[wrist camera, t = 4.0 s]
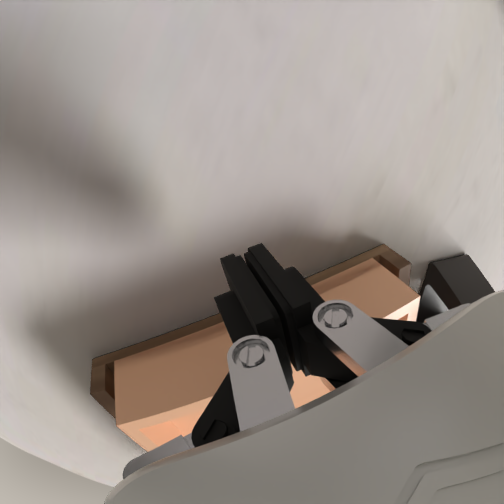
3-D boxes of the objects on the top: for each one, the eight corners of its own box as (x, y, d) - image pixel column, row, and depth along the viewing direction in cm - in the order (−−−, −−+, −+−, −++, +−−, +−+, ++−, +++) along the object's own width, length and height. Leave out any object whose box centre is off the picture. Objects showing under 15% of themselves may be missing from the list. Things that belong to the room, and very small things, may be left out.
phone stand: (430, 260, 22) (538, 344, 12) (465, 253, 24) (558, 320, 14) (399, 343, 26) (477, 427, 16) (436, 327, 28) (508, 397, 18)
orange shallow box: (114, 361, 16) (116, 425, 12) (372, 257, 18) (420, 296, 15) (208, 462, 24) (221, 501, 20) (364, 394, 27) (388, 426, 23)
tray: (92, 359, 16) (89, 408, 13) (383, 243, 19) (422, 270, 16) (219, 482, 30) (228, 508, 26) (367, 418, 33) (382, 439, 30)
